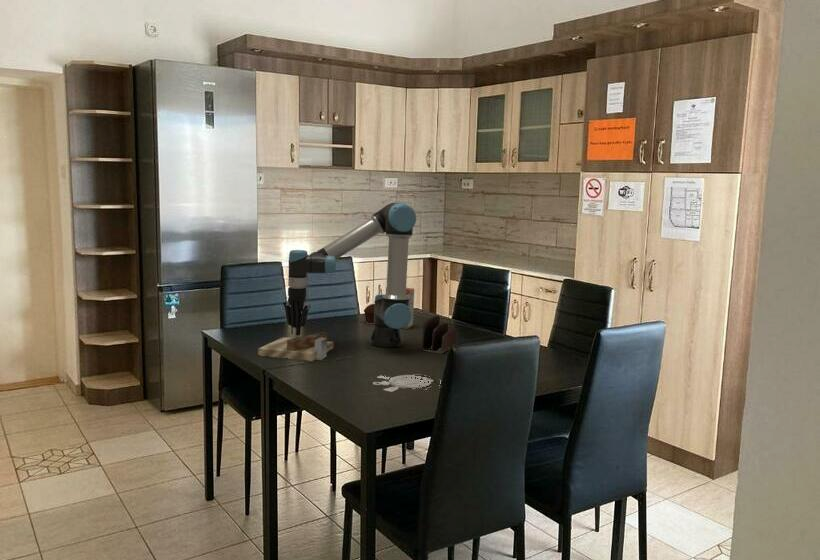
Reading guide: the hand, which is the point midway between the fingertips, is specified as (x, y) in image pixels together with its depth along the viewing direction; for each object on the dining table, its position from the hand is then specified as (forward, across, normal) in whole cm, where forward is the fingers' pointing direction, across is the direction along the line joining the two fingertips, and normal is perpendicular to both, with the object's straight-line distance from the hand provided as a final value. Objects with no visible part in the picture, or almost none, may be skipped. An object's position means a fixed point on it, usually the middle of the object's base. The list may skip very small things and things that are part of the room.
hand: (295, 342), depth 282 cm
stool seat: (+5, -2, +3) cm, 6 cm away
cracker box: (+5, +7, +77) cm, 78 cm away
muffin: (+5, -9, +78) cm, 79 cm away
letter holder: (+5, +45, +47) cm, 65 cm away
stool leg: (+2, +3, +4) cm, 6 cm away
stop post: (+5, +13, 0) cm, 14 cm away
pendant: (+5, +61, -9) cm, 62 cm away
